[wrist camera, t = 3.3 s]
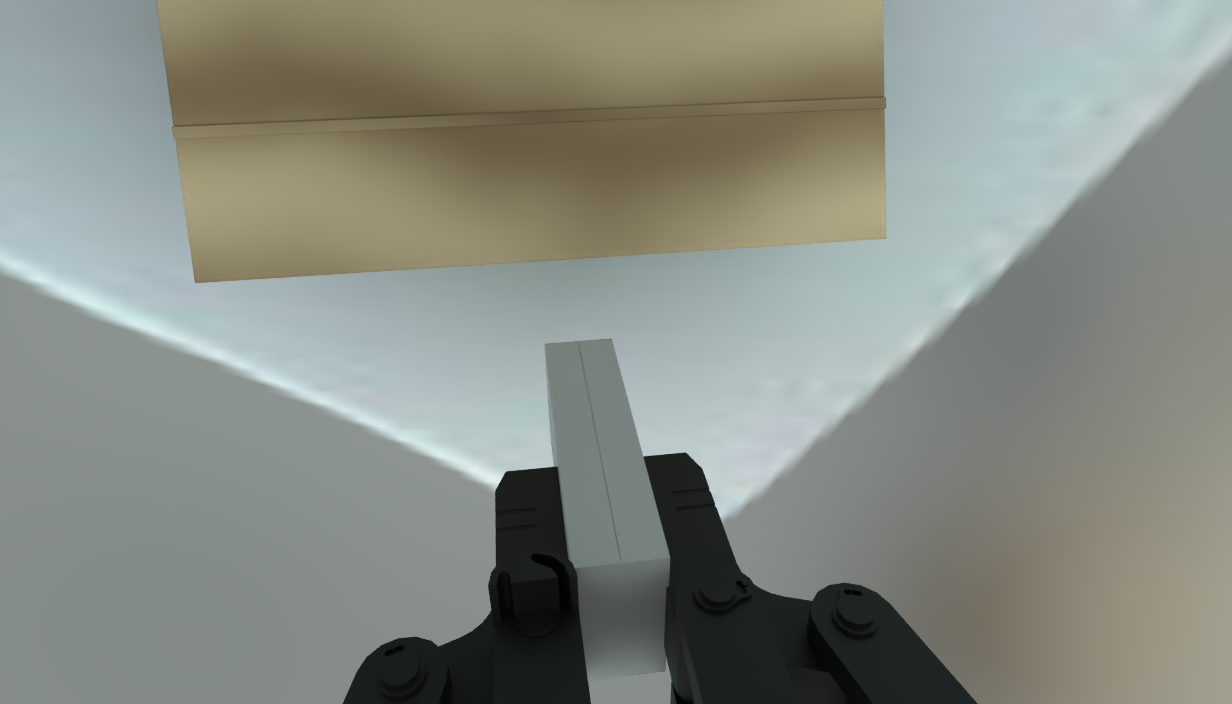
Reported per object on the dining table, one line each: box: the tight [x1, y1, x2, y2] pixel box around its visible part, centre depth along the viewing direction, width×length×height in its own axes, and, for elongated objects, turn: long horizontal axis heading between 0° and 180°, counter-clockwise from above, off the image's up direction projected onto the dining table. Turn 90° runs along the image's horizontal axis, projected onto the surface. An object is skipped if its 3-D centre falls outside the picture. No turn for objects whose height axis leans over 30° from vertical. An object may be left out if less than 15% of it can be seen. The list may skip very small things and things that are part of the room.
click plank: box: [156, 0, 886, 283], centre depth 22 cm, size 8×20×1 cm, turn 91°
